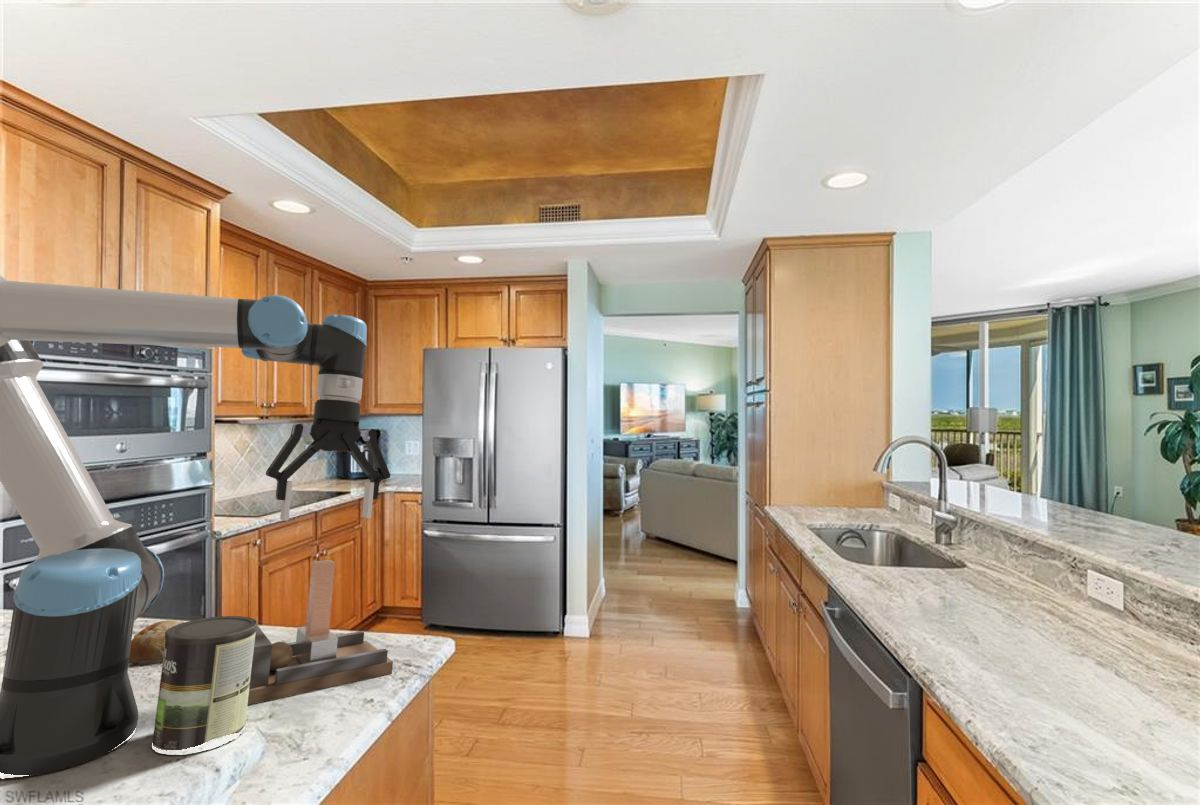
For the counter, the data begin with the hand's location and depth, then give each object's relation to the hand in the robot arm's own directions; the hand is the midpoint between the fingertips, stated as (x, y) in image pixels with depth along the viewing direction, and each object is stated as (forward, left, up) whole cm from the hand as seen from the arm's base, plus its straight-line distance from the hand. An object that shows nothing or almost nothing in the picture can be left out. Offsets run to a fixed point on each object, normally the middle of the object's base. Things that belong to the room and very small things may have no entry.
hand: (327, 518), depth 97 cm
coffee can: (-17, -14, -27) cm, 35 cm away
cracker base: (0, 0, -26) cm, 27 cm away
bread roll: (-20, +26, -27) cm, 42 cm away
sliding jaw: (0, 0, -24) cm, 24 cm away
